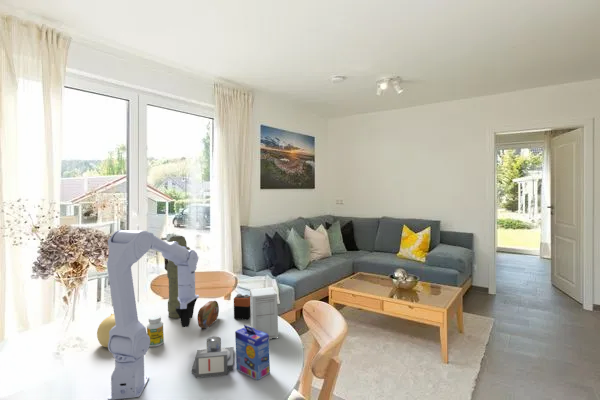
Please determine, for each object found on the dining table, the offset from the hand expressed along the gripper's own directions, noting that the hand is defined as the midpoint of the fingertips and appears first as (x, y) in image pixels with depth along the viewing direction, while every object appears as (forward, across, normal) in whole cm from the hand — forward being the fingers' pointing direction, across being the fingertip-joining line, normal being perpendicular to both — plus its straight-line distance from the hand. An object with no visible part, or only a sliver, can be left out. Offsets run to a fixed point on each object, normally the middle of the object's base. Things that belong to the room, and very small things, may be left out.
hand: (187, 322), depth 117 cm
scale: (+9, -13, -10) cm, 19 cm away
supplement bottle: (+9, +5, +12) cm, 16 cm away
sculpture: (+9, +8, +26) cm, 29 cm away
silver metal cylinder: (+7, -12, -10) cm, 17 cm away
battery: (+9, +24, -19) cm, 32 cm away
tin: (+9, +20, -5) cm, 23 cm away
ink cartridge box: (+9, -20, -22) cm, 31 cm away
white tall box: (+9, +5, -27) cm, 29 cm away
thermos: (+9, +32, +9) cm, 34 cm away
